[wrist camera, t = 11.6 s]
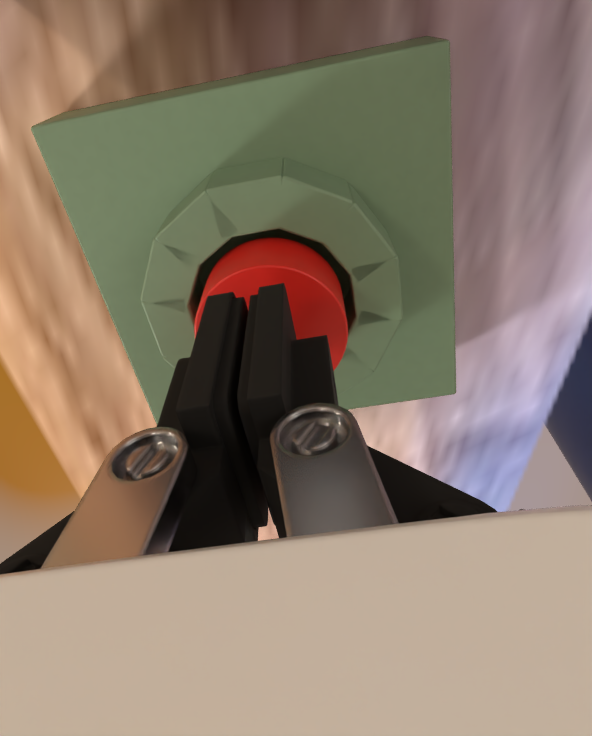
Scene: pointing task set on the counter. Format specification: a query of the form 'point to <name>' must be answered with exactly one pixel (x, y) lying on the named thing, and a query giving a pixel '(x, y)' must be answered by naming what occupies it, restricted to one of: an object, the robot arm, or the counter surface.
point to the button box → (277, 206)
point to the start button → (302, 281)
